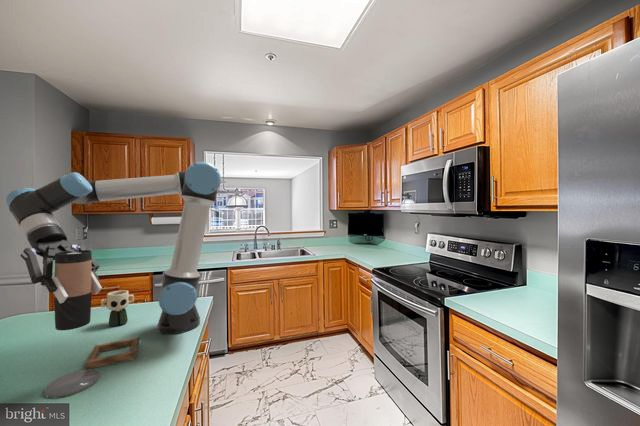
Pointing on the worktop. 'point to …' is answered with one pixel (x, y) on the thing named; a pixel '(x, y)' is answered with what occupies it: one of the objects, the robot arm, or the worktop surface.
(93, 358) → the walnut frame
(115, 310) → the character mug
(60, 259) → the travel mug
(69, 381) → the slate coaster
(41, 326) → the worktop surface
